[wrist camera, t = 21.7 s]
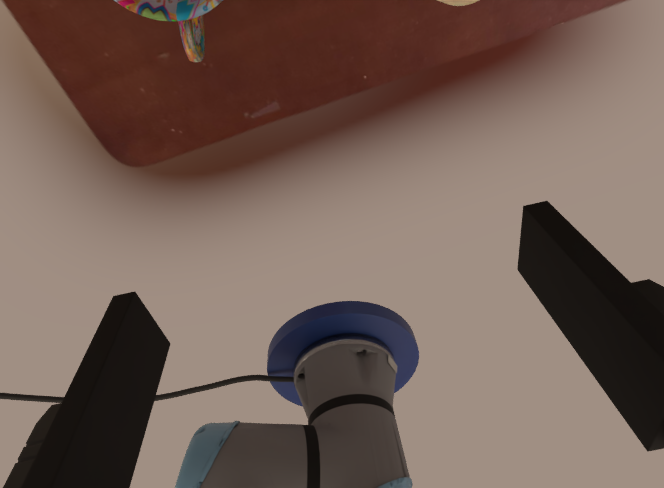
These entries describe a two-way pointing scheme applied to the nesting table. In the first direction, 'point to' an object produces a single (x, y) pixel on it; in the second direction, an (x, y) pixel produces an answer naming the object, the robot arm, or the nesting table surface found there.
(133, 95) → the nesting table surface
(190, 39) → the mug
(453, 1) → the candle
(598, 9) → the nesting table surface
